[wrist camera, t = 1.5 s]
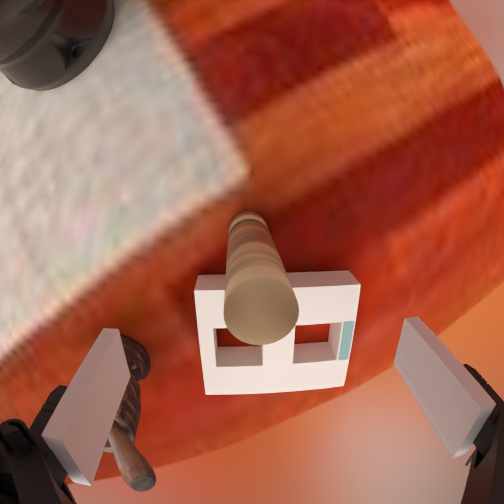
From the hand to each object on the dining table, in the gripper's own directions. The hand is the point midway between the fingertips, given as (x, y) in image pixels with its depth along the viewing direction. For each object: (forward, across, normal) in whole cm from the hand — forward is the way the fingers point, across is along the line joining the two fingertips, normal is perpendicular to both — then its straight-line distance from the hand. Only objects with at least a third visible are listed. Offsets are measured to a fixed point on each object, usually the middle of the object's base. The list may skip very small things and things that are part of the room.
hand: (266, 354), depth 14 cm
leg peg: (+21, 0, 0) cm, 21 cm away
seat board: (+21, +3, -12) cm, 25 cm away
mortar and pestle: (+22, -15, -16) cm, 31 cm away
